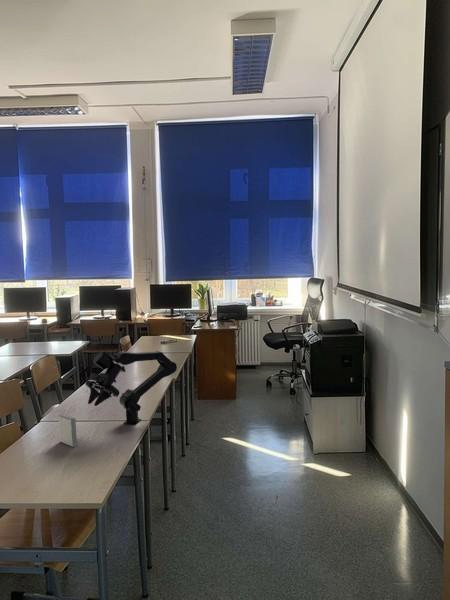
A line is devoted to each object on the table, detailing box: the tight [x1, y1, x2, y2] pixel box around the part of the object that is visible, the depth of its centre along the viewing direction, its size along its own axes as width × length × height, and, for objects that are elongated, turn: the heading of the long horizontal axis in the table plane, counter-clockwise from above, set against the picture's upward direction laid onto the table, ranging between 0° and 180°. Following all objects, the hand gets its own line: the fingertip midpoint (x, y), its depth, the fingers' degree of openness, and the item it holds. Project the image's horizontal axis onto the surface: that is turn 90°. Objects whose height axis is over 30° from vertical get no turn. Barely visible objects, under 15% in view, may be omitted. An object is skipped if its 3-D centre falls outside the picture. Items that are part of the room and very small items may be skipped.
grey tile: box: [58, 413, 78, 448], centre depth 191 cm, size 2×10×12 cm, turn 52°
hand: (91, 404), depth 201 cm, fingers open, 4 cm apart
